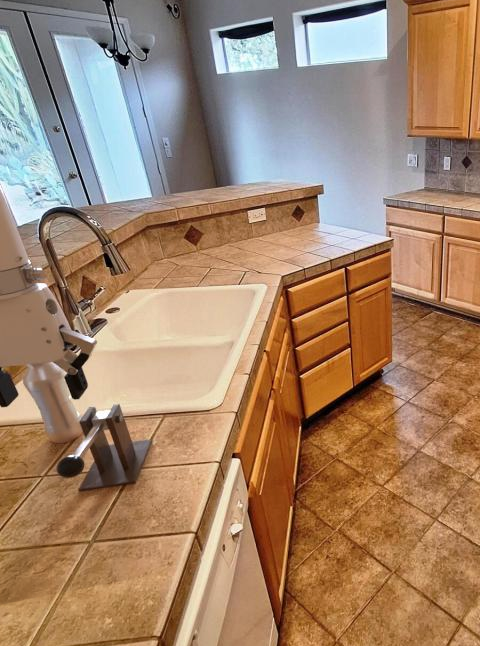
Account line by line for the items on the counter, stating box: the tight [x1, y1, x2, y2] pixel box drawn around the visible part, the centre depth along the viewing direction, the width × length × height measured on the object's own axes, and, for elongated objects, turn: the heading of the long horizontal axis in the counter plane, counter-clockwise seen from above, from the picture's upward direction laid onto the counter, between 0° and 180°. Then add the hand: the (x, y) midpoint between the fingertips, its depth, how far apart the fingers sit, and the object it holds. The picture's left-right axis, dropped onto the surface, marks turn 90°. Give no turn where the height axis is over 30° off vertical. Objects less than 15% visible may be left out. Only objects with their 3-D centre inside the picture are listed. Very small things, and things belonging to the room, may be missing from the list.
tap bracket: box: [77, 403, 154, 493], centre depth 79 cm, size 12×9×13 cm
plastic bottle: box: [22, 362, 84, 444], centre depth 85 cm, size 6×7×20 cm
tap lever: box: [56, 409, 111, 479], centre depth 71 cm, size 16×3×3 cm, turn 14°
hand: (45, 397), depth 61 cm, fingers open, 8 cm apart
